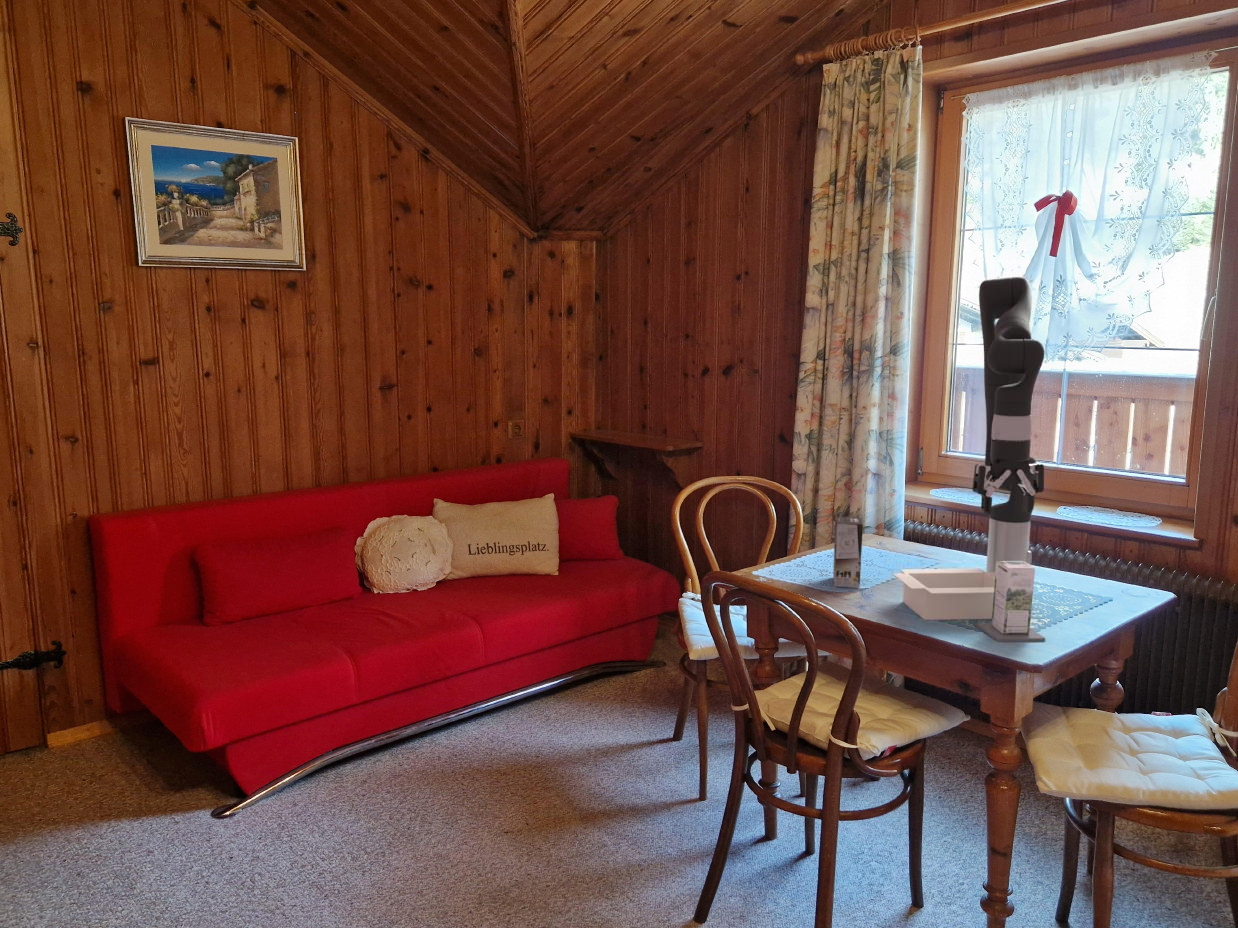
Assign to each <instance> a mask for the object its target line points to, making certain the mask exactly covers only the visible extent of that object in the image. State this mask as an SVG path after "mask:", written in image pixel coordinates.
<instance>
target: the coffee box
mask: <svg viewBox="0 0 1238 928" xmlns="http://www.w3.org/2000/svg"><path fill="white" fill-rule="evenodd" d="M834 521H835V522H834V545H833V547H834V549H833V585H834V586H833V587H837V588H838V587H840V588H852V589H853V588H854V589H860V588H861V585H860V584H861V568H862V567H861V566H862V553H863V552H862V550H863V549H862V548H863V547H862V546H863V529H864V528H863V527H864V524H863V521H862V518H861V517H859V516H835V520H834Z"/></svg>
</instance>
